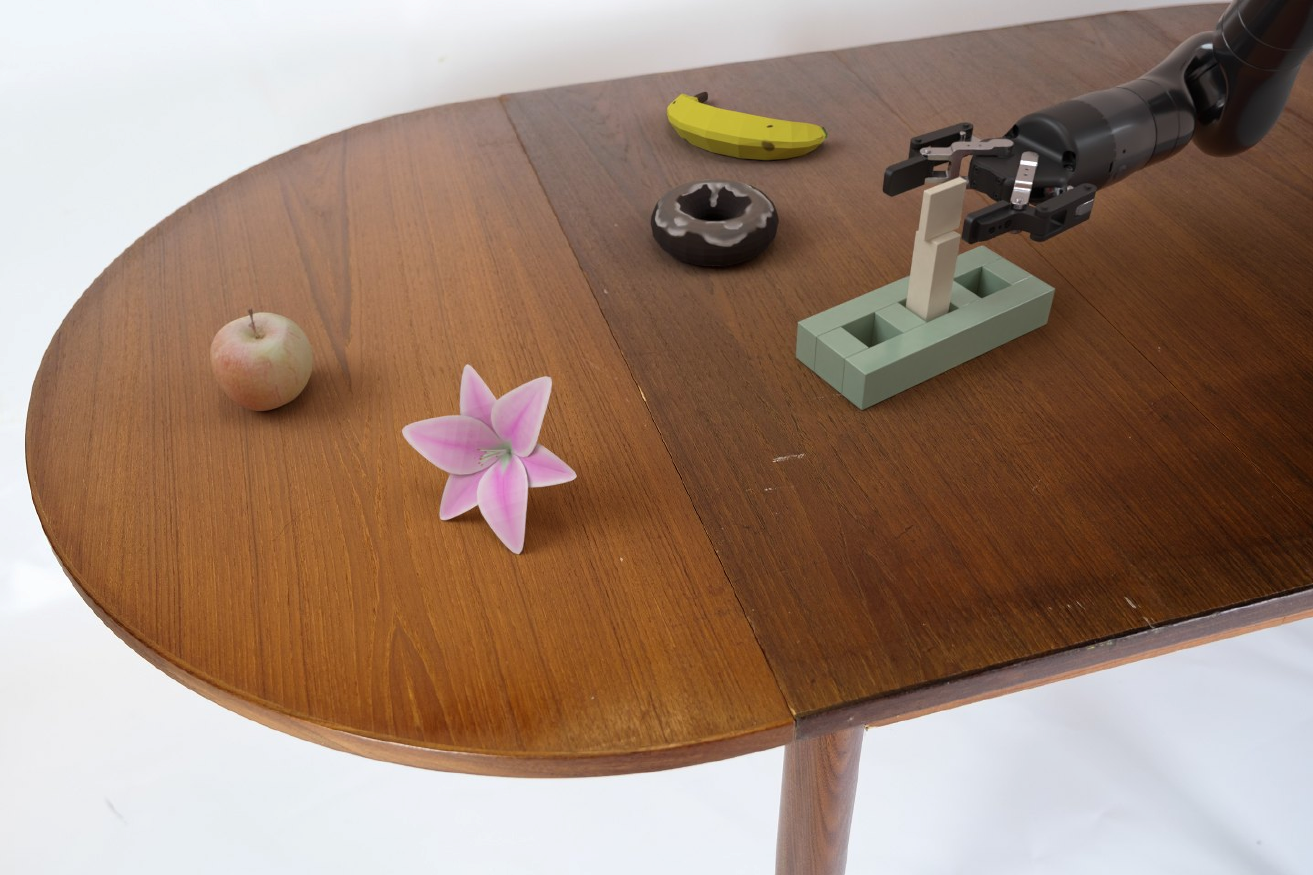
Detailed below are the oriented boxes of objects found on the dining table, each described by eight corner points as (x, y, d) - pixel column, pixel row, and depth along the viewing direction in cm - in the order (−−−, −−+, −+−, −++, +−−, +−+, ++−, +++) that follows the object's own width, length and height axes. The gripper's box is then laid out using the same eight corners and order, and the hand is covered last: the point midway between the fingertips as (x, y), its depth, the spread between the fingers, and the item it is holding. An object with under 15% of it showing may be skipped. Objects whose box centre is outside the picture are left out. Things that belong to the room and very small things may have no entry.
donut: (802, 250, 103) (805, 211, 101) (692, 289, 99) (691, 249, 96) (734, 197, 111) (734, 160, 108) (628, 230, 107) (626, 193, 104)
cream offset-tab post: (949, 339, 92) (975, 185, 83) (915, 354, 91) (938, 199, 82) (928, 325, 94) (952, 172, 85) (895, 340, 92) (916, 185, 83)
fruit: (240, 369, 92) (212, 286, 87) (330, 367, 92) (307, 284, 87) (212, 429, 87) (180, 345, 81) (307, 427, 86) (281, 342, 81)
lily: (409, 474, 83) (358, 430, 75) (530, 372, 85) (495, 317, 76) (506, 593, 79) (464, 561, 70) (632, 483, 81) (607, 439, 72)
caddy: (1047, 324, 93) (1055, 288, 91) (861, 411, 86) (865, 374, 83) (976, 279, 99) (982, 244, 96) (795, 357, 91) (797, 321, 89)
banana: (827, 129, 112) (834, 88, 125) (656, 110, 114) (679, 72, 127) (821, 173, 114) (828, 129, 127) (653, 154, 116) (676, 112, 129)
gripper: (1020, 71, 91) (865, 124, 85) (1166, 135, 82) (1004, 199, 76) (1005, 156, 96) (857, 212, 90) (1141, 226, 87) (987, 293, 81)
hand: (925, 206), depth 83 cm, fingers open, 8 cm apart
